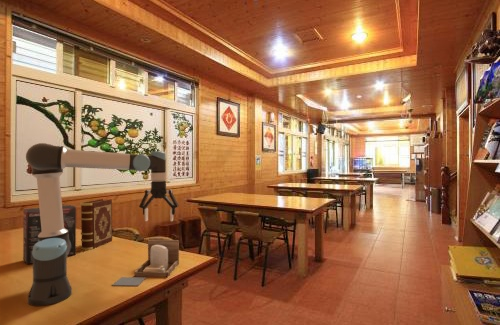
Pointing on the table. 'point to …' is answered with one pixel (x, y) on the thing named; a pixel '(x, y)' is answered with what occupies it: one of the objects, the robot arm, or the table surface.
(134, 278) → the mat
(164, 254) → the photo printer
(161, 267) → the offcut stack
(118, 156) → the robot arm
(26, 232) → the headset box
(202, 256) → the table surface
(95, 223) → the decorative book
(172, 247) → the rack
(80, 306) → the table surface
